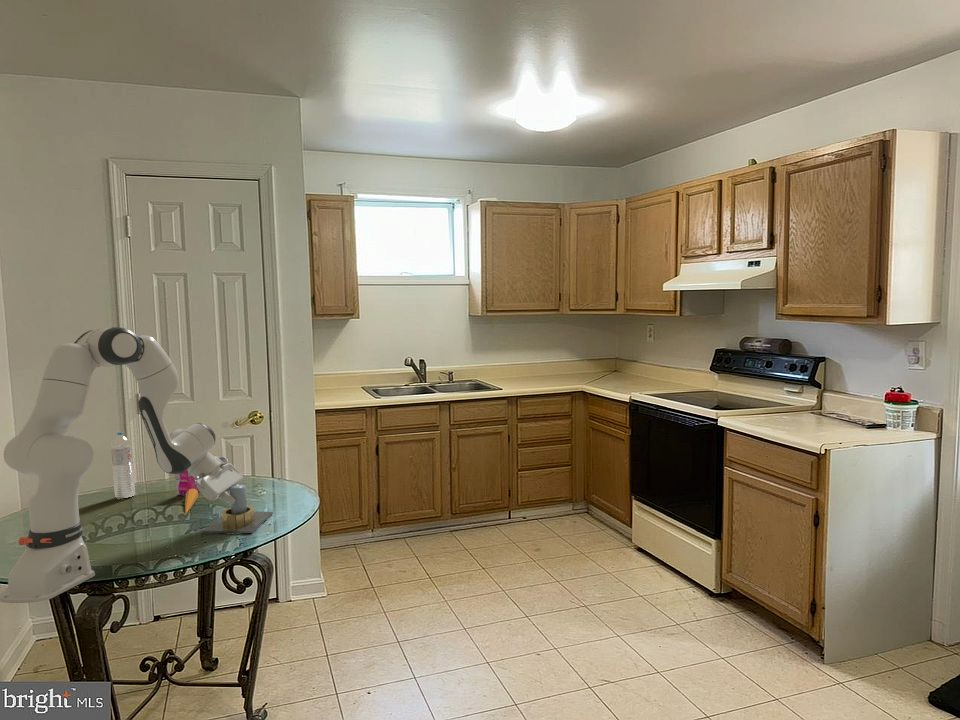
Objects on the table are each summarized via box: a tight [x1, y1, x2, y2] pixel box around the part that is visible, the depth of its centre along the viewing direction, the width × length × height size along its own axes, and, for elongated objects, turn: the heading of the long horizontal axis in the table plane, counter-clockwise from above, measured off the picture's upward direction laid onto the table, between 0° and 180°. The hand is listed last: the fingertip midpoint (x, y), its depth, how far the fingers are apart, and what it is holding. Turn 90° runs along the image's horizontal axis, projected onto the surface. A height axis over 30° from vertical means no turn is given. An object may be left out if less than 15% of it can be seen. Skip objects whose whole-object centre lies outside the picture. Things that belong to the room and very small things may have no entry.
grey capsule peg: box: [229, 484, 248, 514], centre depth 214 cm, size 5×5×10 cm
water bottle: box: [110, 431, 136, 499], centre depth 247 cm, size 7×7×25 cm
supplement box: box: [175, 470, 200, 497], centre depth 249 cm, size 6×6×12 cm
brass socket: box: [221, 505, 256, 526], centre depth 214 cm, size 10×10×4 cm
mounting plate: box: [201, 511, 274, 534], centre depth 215 cm, size 18×16×1 cm
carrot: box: [184, 489, 199, 515], centre depth 235 cm, size 20×4×4 cm, turn 16°
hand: (239, 499), depth 214 cm, fingers closed on grey capsule peg, 5 cm apart
